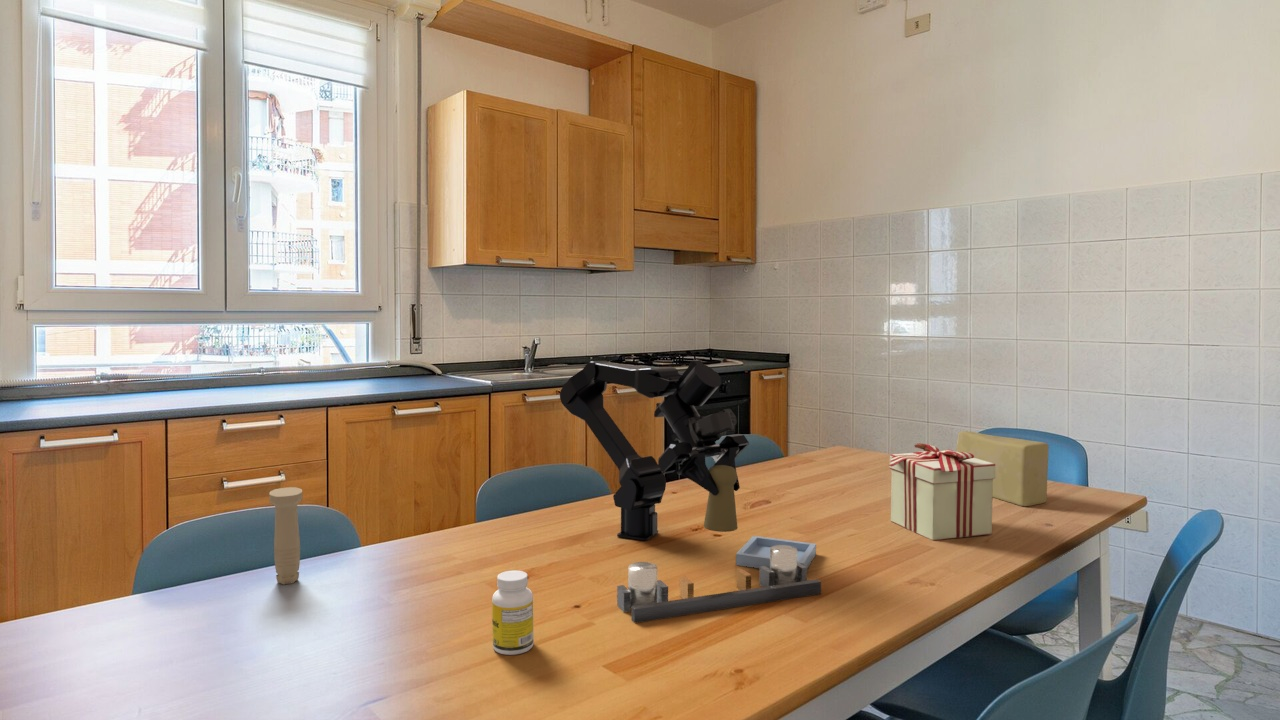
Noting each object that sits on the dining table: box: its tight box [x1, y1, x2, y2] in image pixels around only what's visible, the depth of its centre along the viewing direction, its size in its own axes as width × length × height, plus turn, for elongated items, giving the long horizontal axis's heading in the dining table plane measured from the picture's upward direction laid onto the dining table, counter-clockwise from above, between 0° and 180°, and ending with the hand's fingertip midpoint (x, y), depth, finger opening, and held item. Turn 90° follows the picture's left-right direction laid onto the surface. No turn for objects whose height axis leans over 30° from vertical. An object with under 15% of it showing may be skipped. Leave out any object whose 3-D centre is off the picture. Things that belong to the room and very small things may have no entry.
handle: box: [269, 486, 303, 585], centre depth 122 cm, size 5×6×15 cm
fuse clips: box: [616, 545, 822, 624], centre depth 116 cm, size 8×32×6 cm, turn 112°
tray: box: [735, 535, 817, 569], centre depth 135 cm, size 12×12×2 cm
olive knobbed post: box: [703, 465, 738, 533], centre depth 132 cm, size 6×6×11 cm
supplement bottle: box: [491, 570, 534, 656], centre depth 99 cm, size 5×5×10 cm
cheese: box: [955, 430, 1050, 507], centre depth 185 cm, size 22×10×15 cm, turn 30°
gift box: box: [888, 442, 995, 541], centre depth 155 cm, size 17×18×17 cm
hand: (727, 491), depth 131 cm, fingers closed on olive knobbed post, 5 cm apart
